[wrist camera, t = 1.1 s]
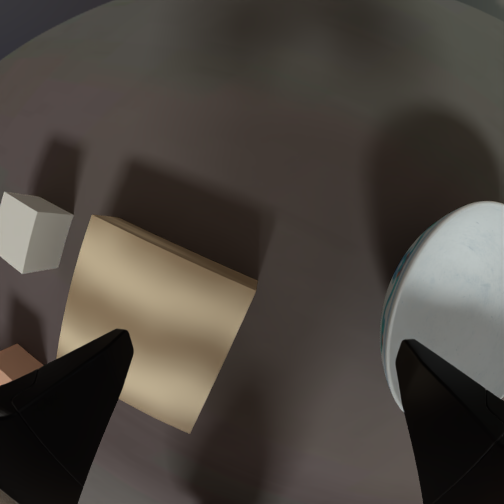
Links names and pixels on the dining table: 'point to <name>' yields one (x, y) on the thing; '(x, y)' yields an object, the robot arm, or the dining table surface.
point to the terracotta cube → (16, 363)
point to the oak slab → (156, 315)
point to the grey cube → (32, 232)
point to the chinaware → (451, 296)
